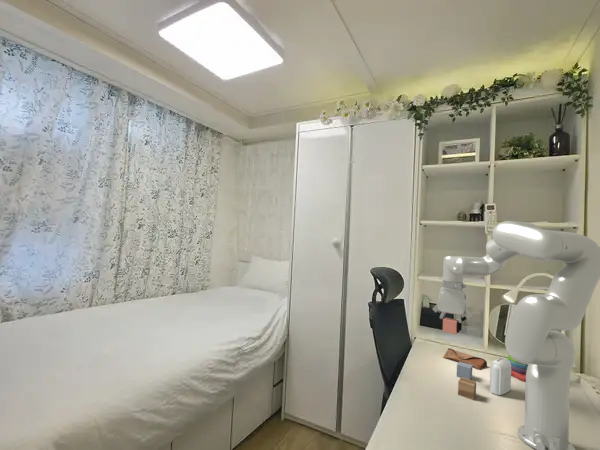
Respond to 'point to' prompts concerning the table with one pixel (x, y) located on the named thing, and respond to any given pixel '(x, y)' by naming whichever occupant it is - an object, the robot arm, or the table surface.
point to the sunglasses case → (465, 359)
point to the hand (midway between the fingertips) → (450, 329)
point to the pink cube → (450, 325)
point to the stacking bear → (518, 369)
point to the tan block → (467, 388)
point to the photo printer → (500, 376)
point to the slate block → (464, 370)
